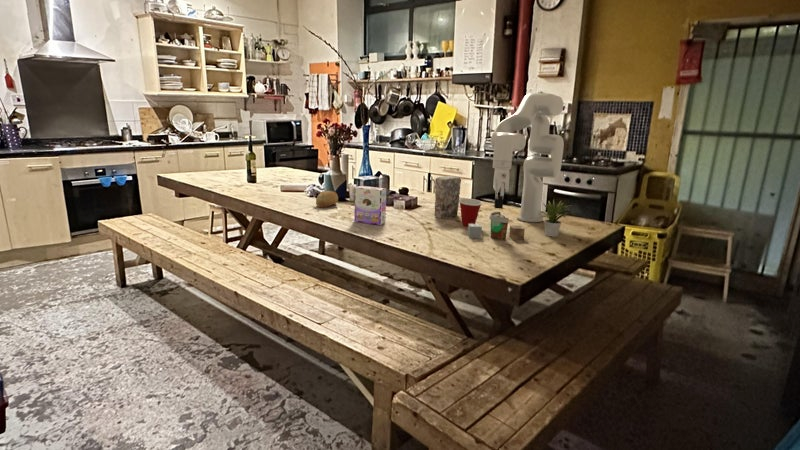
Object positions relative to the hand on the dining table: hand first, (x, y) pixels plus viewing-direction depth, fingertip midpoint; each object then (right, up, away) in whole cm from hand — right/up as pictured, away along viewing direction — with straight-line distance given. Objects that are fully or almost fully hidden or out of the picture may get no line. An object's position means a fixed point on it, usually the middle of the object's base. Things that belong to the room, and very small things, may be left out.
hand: (498, 207), depth 193 cm
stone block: (-18, -3, +38) cm, 42 cm away
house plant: (+25, -12, +9) cm, 29 cm away
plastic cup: (-10, -8, +20) cm, 24 cm away
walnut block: (+8, -13, +3) cm, 16 cm away
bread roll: (-80, +3, +52) cm, 95 cm away
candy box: (-55, -6, +20) cm, 59 cm away
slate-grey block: (-10, -12, +3) cm, 16 cm away
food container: (-1, -13, +3) cm, 13 cm away
